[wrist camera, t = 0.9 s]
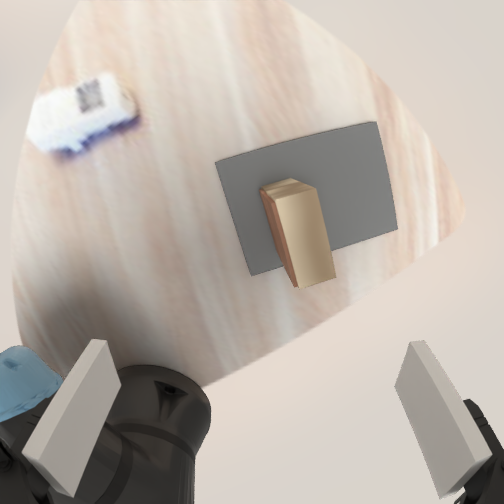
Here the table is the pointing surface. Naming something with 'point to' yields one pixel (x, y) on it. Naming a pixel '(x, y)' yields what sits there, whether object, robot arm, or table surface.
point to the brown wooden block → (298, 231)
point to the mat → (320, 177)
